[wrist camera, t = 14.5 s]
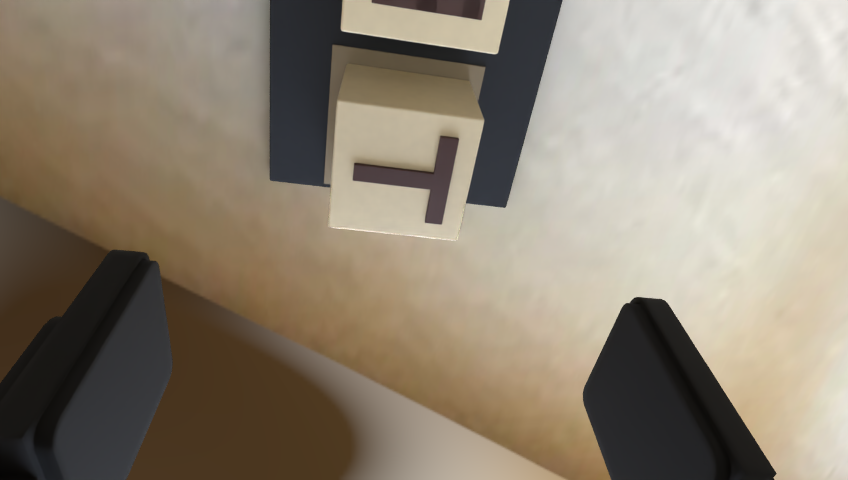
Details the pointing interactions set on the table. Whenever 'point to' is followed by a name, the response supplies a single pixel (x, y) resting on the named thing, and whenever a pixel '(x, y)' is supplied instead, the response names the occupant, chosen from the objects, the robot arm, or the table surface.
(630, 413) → the robot arm
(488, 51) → the tile
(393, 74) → the tile
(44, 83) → the table surface
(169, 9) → the table surface
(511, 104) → the word mat
